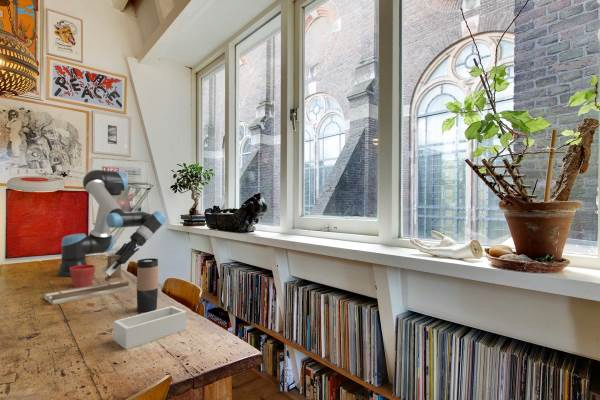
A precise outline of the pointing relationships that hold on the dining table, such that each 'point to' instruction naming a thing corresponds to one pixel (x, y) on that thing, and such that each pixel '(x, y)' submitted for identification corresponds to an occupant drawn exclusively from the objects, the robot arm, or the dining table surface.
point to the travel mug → (147, 285)
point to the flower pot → (82, 275)
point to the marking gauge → (117, 273)
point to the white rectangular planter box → (149, 326)
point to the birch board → (85, 292)
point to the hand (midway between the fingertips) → (105, 273)
